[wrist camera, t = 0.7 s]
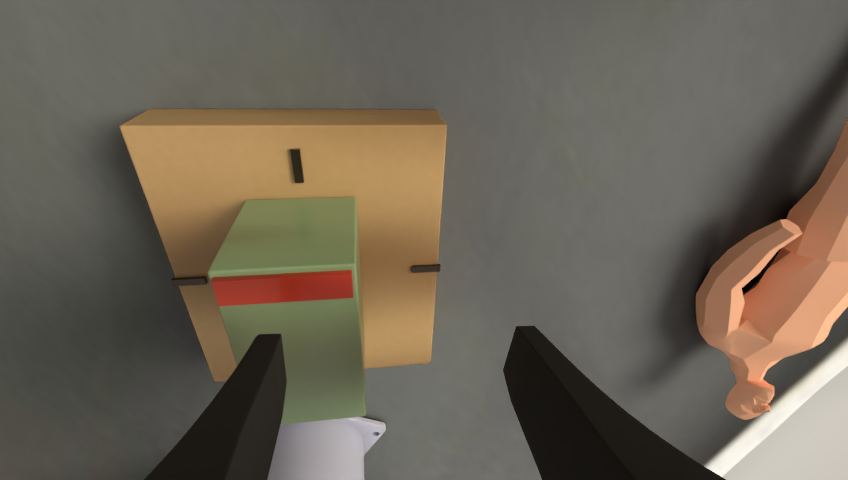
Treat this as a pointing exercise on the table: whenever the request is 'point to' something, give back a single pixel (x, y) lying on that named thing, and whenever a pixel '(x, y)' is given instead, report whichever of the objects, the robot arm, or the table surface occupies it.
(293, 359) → the box
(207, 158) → the tan flat block
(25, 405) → the table surface
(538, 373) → the robot arm
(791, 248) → the male figurine
